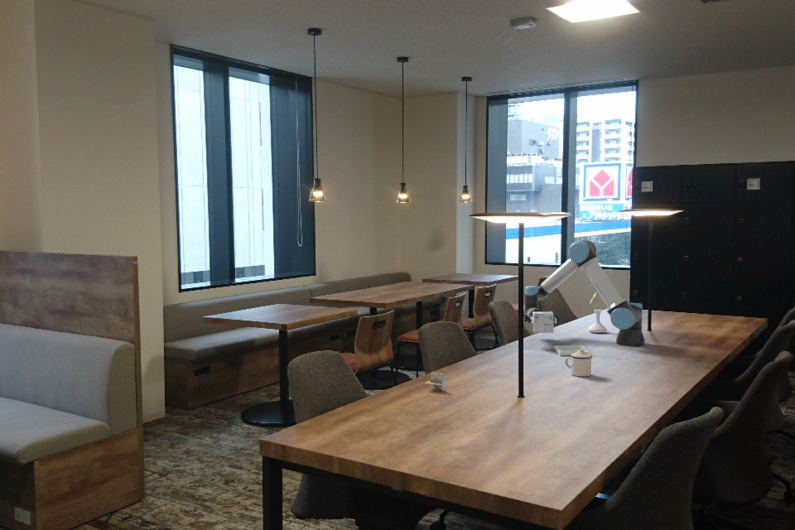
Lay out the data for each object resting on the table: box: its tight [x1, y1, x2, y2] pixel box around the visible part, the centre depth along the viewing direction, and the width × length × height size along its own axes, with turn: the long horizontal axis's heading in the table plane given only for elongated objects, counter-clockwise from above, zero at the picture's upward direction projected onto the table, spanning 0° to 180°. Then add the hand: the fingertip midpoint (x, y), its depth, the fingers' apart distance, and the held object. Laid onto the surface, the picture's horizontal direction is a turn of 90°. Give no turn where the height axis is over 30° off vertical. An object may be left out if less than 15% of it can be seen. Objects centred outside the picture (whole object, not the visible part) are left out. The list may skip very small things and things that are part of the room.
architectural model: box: [425, 371, 445, 392], centre depth 280 cm, size 3×7×7 cm, turn 62°
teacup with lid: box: [564, 349, 593, 377], centre depth 306 cm, size 12×9×12 cm
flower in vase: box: [587, 291, 608, 334], centre depth 414 cm, size 13×11×25 cm
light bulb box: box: [532, 311, 555, 334], centre depth 367 cm, size 11×7×11 cm, turn 84°
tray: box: [553, 345, 590, 357], centre depth 355 cm, size 15×17×2 cm
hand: (544, 321), depth 363 cm, fingers closed on light bulb box, 11 cm apart
